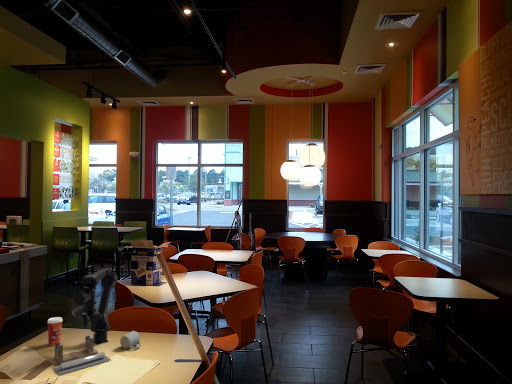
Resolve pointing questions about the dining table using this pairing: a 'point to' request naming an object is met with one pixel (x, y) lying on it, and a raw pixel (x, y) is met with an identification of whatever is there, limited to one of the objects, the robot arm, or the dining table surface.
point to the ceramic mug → (130, 340)
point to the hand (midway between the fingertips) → (88, 329)
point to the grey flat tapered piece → (81, 366)
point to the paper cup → (54, 330)
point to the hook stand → (63, 358)
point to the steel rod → (82, 361)
